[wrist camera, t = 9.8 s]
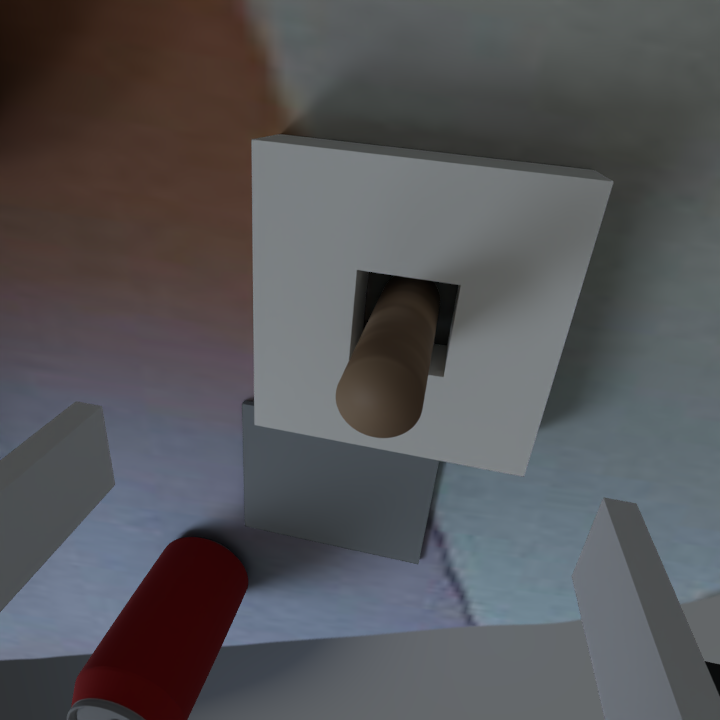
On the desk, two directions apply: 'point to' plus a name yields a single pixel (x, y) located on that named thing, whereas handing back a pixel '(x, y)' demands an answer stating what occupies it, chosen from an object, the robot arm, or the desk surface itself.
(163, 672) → the beverage can
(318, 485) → the mat
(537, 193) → the hole block
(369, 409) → the peg
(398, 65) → the desk surface
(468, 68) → the desk surface
